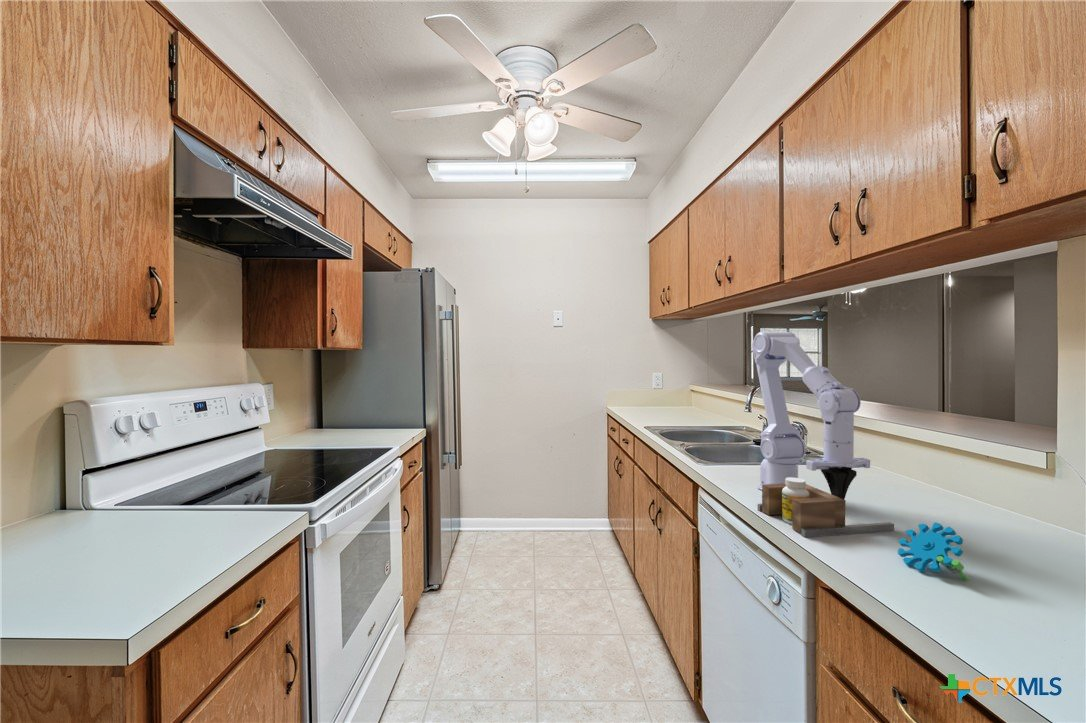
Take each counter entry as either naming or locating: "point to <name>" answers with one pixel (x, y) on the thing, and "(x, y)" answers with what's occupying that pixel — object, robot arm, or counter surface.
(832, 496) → the housing
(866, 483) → the counter surface
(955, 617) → the counter surface
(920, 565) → the gear
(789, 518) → the supplement bottle
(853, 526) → the guide rails
